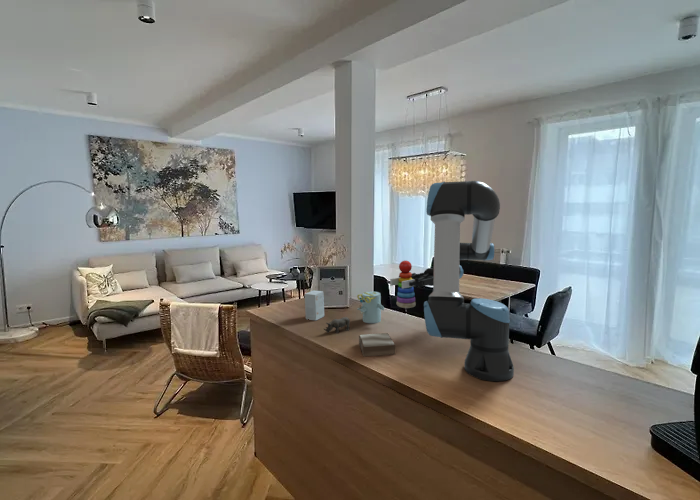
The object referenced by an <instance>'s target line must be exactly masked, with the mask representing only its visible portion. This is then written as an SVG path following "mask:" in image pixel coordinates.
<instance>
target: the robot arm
mask: <svg viewBox="0 0 700 500" xmlns="http://www.w3.org/2000/svg"><path fill="white" fill-rule="evenodd" d="M500 210H501V202H500V198H499V196H498V194H497V193H496V192H495V190H494V189H493V188H492V187H491V186H489V185H488V184H487V183H485V182H482V181H478V180H468V181H467V180H465V181H442V182H434V183H432V184H431V185H430V187H429V189H428V193H427V200H426V210H425V211H426V215H427V216H429V217H430V221H431V222H432V223H433V224H434V236H433V237H434V245H433V250H434V251H433V267H430V268H426V269H425V270H424V272H420V273H416V272H413V273H412V272H411V273H412V276H411V278H412V280H407V281H402V288H403V289H404V288H408V287H413V288H414V287H419V286H420V287H421V288H422V287H426V286H430V287H431V286H432V288H433V289H432V292H431V293H430V294H429V295H428V300H426V301H424V302H423V312H424V314H423V315H424V322H425V328H426V332H427V334H428V335H429V336H431V337H437V338H445V339H446V338H447V339H457V340H459V339H460V340H470V341H469V342H470V346H469V349H468V351H467V354H466V356H465V359H464V370H465V371H464V372H466V373H467V374H469V375H470V376H472V377H475V378H476V379H480V380H483V381H487V382H503V381H509V380H511V379H512V378H513V377H514V375H515V368H514V367H515V366H514V363H513V361H512V360H513V359H512V357H511V355H510V351H509V346H510V345H509V341H510V339H509V338H510V323H511V320H510V319H511V318H510V309H509V308H508V306H507V305H505V304H504V303H502V302H499V301H496V300H494V299H493V300H492V299H489V298H480V297H479V298H477V297H476V298H472V299H471V301H470V303H465V298H464V296H463V294H461V293H460V279H462V277H463V276H464V269H463V267H462V265H460V261H483V262H484V261H492V260H494V258H495V245H494V243H493V242H492V239H493V231H494V226H495V222H496V218H497V217H498V216H499V215H500ZM465 215H466V216H467V215H468V216H469V215H472V217H473V224H472V232H471V233H472V235H471V242H461V239H460V238H461V224H462V223H463V222H464V221H465ZM399 278H400V276H399V275H398V277H393V278H390V279H389V284H390V286H391V287H392V286H397V285H398V283H399Z"/></svg>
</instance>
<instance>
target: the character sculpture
mask: <svg viewBox="0 0 700 500" xmlns="http://www.w3.org/2000/svg"><path fill="white" fill-rule="evenodd" d="M356 297H357V300H358V301H359V302H360V303H361V304H362V305H361V304H360V305H359V307H357V309H356V310H358V311H360V314H361V315H362V321H363V322H364V323H366V324H377V323H380V322H381V320H382V311H384V310H385V307H384V305H382V303H381V300H382V296H381V292H379V291H364V292H363V293H362V294H357V296H356Z"/></svg>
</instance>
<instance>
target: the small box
mask: <svg viewBox="0 0 700 500" xmlns="http://www.w3.org/2000/svg"><path fill="white" fill-rule="evenodd" d="M324 295H325V294H324V291H323V290H314V289H313V290H311V291H309V292H305V293H304V309H305V310H304V311H305V319H306V320H308V319H309V320H310V321H318V320H320V319H322V318H324V317H325V303H324V302H325V299H324V297H325V296H324Z"/></svg>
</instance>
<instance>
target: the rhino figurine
mask: <svg viewBox="0 0 700 500" xmlns="http://www.w3.org/2000/svg"><path fill="white" fill-rule="evenodd" d="M325 324H326V325H327V327H325V328H323V331H326V333H330V332H331V331H332V330H333V329H334V328H335V330H334V332H335V333H336V334H339V333H340V331H339V330H340V329H341V328H344V327H345V331H346V332H349V330H350V318H349V317H348V316H343V317H341V318H338V319H337V318H335V319H332V320H331V321H330V322H325Z"/></svg>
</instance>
